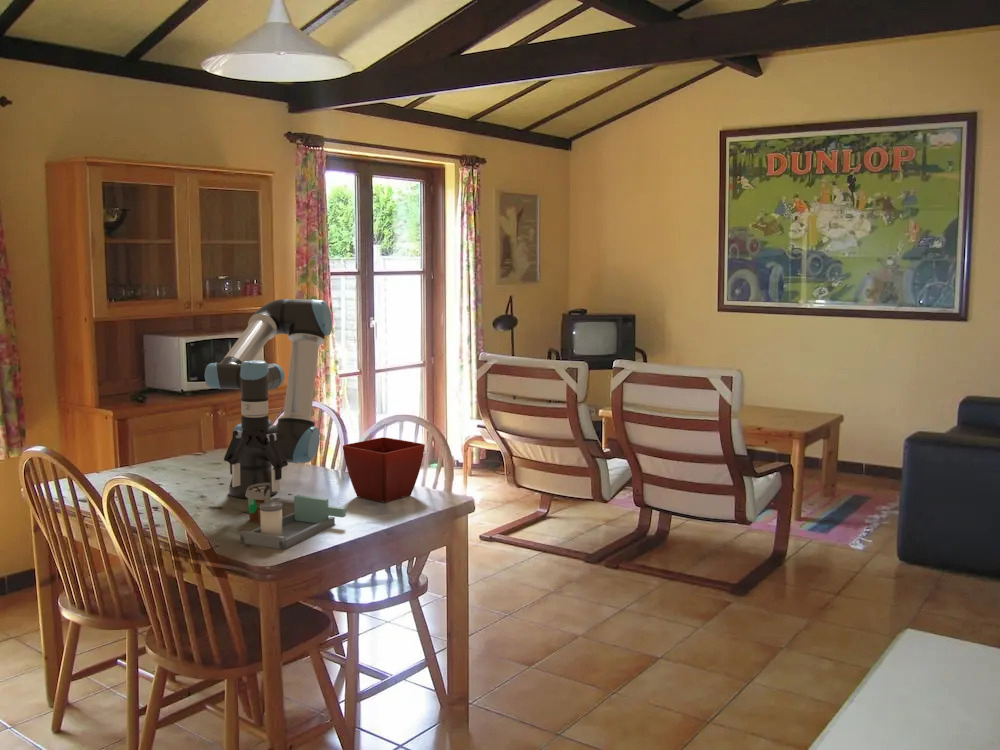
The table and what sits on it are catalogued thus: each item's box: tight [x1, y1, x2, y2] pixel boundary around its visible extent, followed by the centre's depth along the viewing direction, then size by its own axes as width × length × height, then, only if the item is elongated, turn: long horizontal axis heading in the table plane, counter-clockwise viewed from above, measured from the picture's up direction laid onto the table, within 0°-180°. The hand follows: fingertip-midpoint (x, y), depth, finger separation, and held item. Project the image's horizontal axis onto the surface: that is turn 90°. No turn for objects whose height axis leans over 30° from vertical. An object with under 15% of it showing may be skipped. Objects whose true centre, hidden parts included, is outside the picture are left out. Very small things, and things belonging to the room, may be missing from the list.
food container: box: [245, 483, 271, 524], centre depth 272 cm, size 12×6×10 cm, turn 5°
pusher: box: [293, 494, 347, 523], centre depth 268 cm, size 16×2×7 cm, turn 68°
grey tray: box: [239, 511, 336, 550], centre depth 259 cm, size 14×25×4 cm, turn 158°
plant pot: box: [342, 436, 426, 503], centre depth 301 cm, size 19×19×17 cm
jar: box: [260, 501, 283, 536], centre depth 251 cm, size 6×6×10 cm
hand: (255, 488), depth 271 cm, fingers open, 13 cm apart
